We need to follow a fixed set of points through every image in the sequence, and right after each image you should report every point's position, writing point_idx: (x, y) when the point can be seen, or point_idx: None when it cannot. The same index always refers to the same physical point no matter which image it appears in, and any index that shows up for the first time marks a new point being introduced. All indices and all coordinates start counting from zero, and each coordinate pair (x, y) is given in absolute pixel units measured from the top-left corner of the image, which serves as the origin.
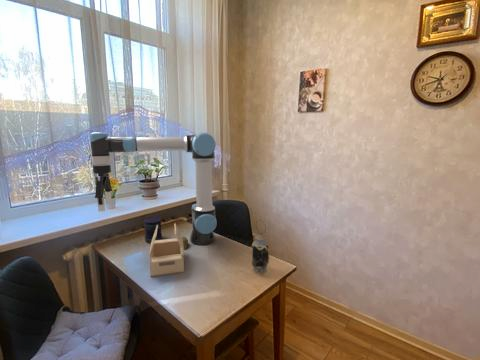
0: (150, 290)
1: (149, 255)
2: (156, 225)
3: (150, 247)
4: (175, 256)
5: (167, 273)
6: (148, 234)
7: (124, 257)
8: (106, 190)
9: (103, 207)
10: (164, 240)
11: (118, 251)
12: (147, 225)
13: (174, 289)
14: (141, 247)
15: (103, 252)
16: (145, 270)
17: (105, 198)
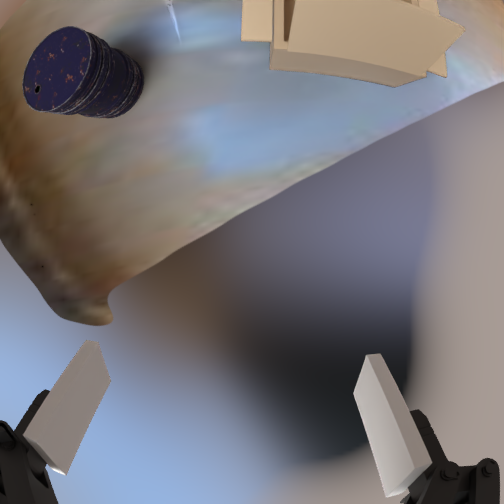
0: (451, 100)
1: (421, 73)
2: (98, 43)
3: (370, 56)
4: (422, 4)
5: None
6: (114, 90)
7: (219, 176)
8: (40, 473)
9: (389, 384)
10: (255, 3)
11: (157, 209)
12: (92, 84)
13: (456, 51)
14: (141, 126)
15: (155, 261)
16: (350, 97)
17: (89, 421)
